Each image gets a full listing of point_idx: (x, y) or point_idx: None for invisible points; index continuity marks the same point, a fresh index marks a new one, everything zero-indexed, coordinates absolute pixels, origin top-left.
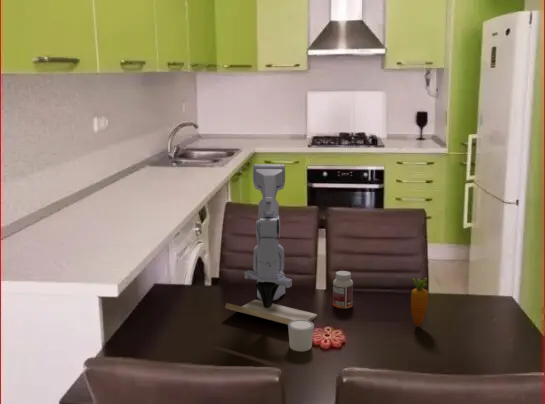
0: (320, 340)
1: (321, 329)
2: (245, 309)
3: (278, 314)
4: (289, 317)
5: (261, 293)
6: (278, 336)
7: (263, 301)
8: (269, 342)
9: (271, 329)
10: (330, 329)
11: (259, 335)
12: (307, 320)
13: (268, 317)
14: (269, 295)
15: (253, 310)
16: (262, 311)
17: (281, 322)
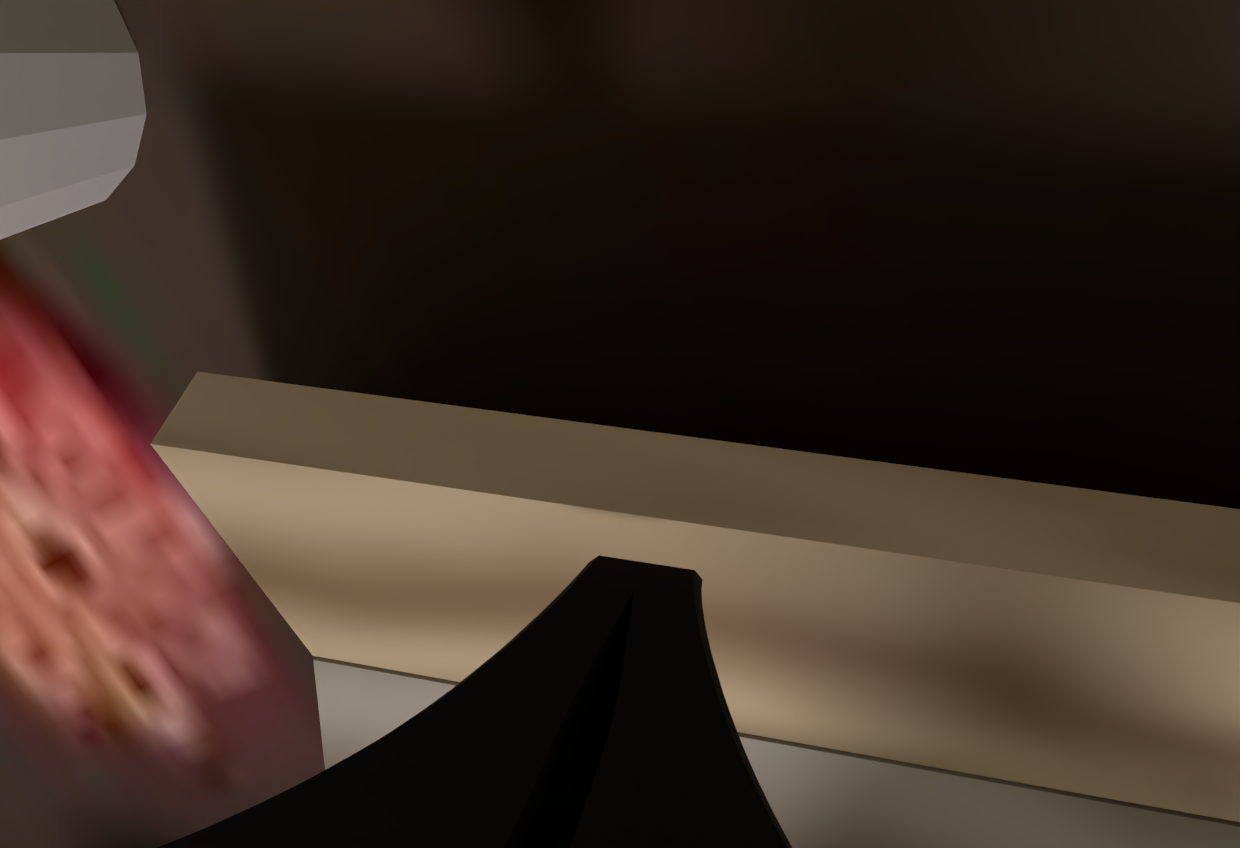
0: (19, 412)
1: (185, 659)
2: (1192, 563)
3: None
4: None
5: (684, 808)
6: (460, 290)
7: (667, 637)
8: (455, 36)
9: None
10: (121, 687)
11: (712, 190)
12: (325, 741)
13: (607, 450)
14: (366, 754)
15: (983, 553)
16: (973, 810)
17: (342, 393)
